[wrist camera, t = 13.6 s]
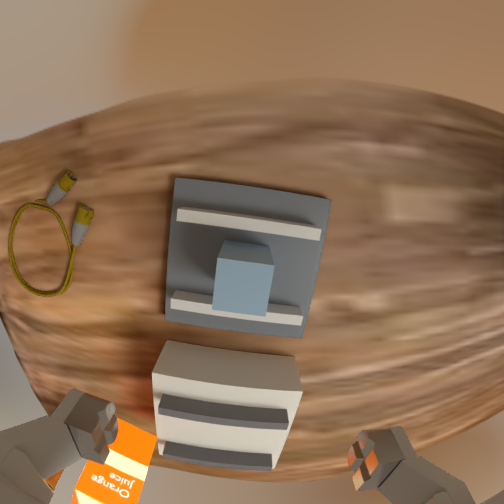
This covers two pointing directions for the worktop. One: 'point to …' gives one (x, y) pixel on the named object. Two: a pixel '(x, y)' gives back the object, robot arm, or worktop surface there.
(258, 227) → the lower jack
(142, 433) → the orange juice
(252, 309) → the plug
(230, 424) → the block
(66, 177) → the coiled cable
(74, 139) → the worktop surface
